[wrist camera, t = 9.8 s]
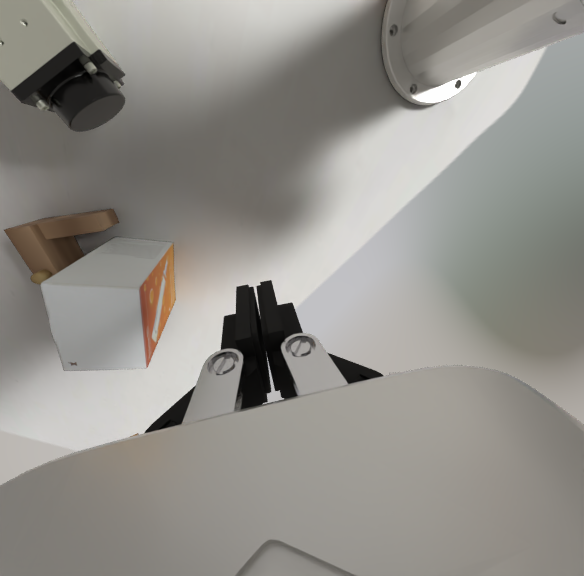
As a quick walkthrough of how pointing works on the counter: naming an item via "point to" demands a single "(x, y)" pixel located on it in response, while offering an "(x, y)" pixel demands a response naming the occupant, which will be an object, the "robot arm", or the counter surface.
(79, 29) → the pneumatic valve
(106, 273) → the small box
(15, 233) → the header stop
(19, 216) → the counter surface
